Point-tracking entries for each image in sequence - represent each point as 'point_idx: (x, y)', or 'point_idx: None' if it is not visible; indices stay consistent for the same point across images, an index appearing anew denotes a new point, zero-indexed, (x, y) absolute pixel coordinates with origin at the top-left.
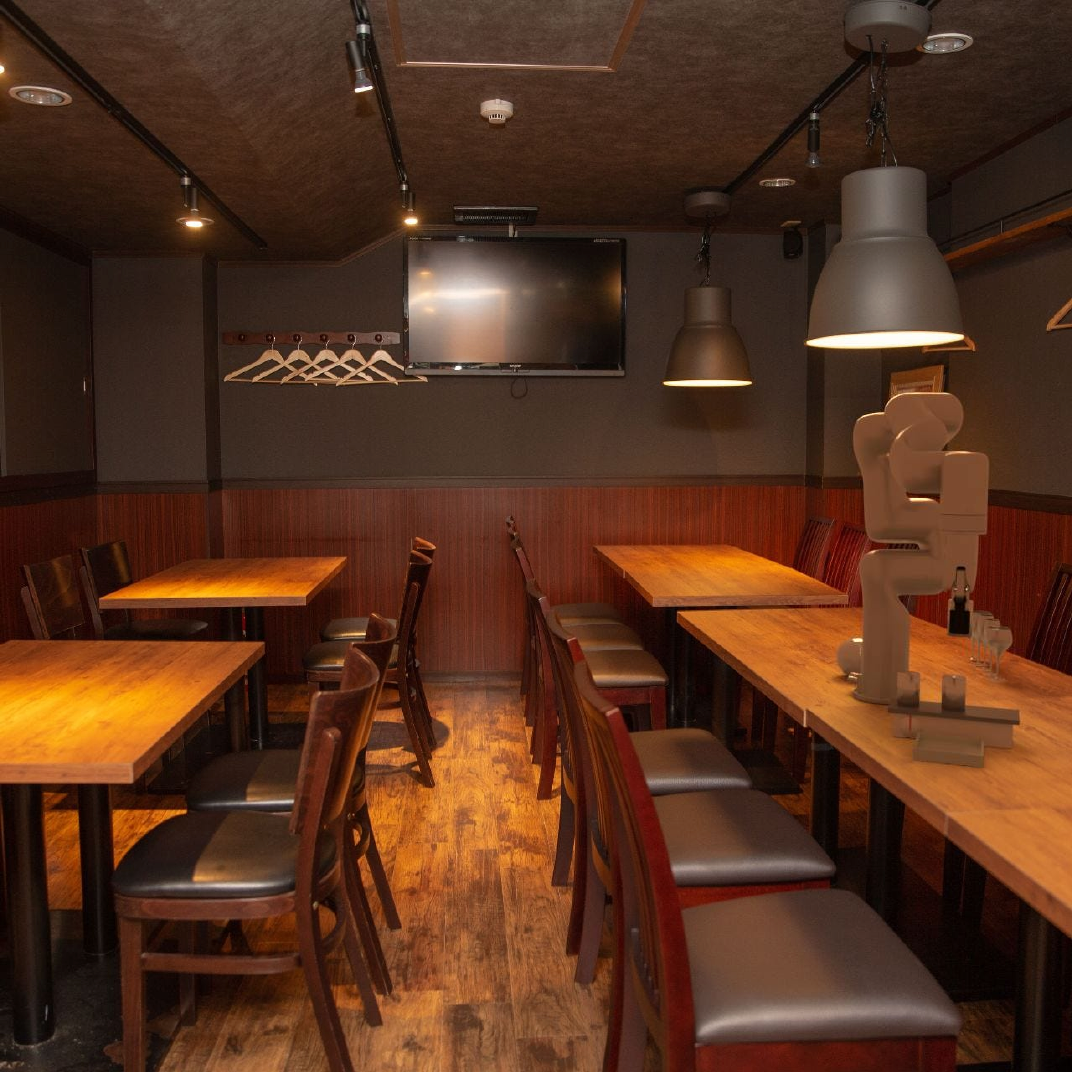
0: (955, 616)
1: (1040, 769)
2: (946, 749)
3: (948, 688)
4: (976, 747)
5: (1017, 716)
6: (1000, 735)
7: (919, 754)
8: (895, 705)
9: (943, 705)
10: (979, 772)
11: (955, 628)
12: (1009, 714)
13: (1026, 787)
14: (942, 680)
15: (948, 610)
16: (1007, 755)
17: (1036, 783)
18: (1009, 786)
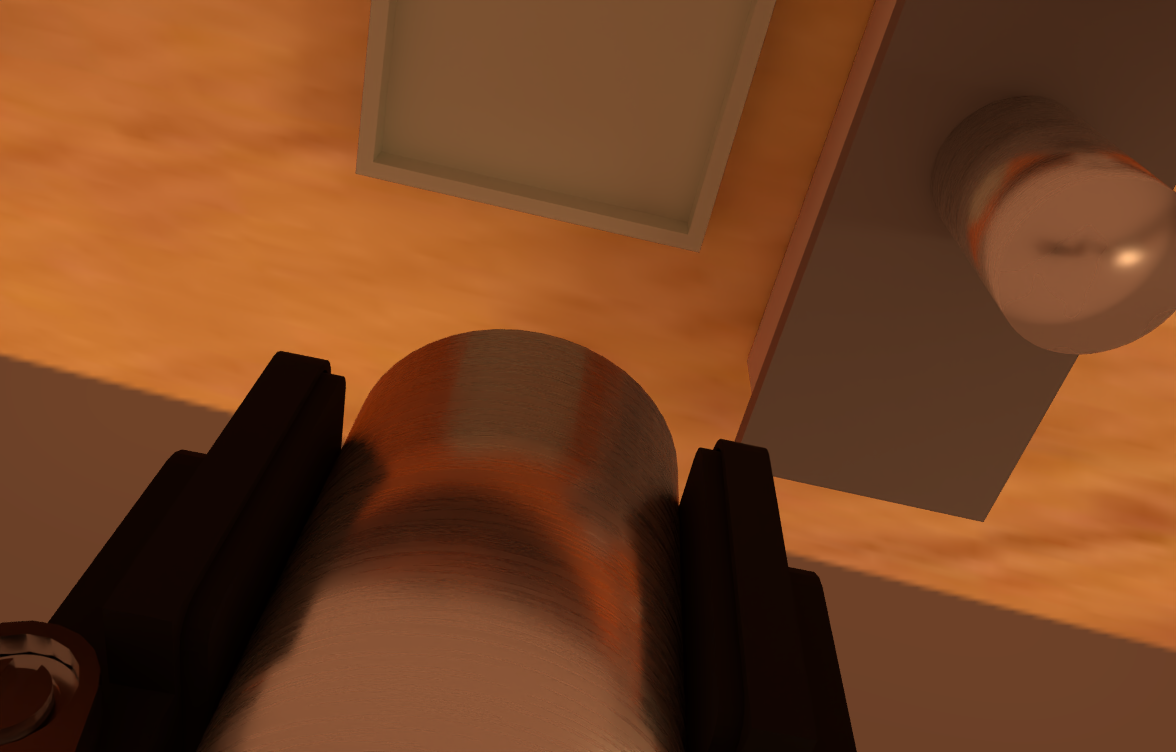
0: (86, 594)
1: None
2: (563, 12)
3: (1004, 181)
4: (642, 189)
5: (830, 480)
6: (769, 344)
7: None
8: None
9: (1003, 111)
10: (289, 118)
11: (184, 457)
12: (874, 454)
13: (132, 269)
14: (1108, 164)
15: (400, 603)
16: (631, 314)
17: (211, 322)
18: (114, 204)
